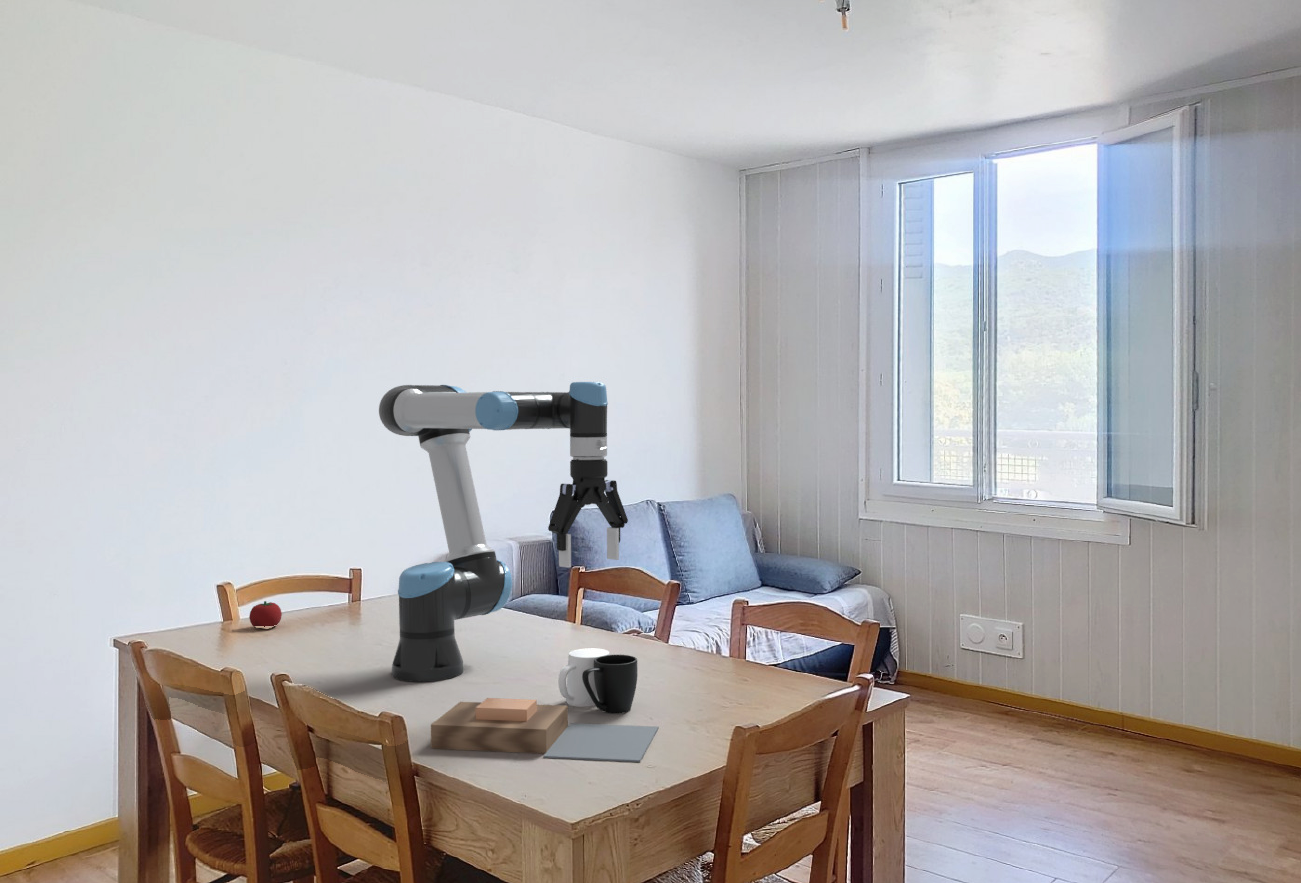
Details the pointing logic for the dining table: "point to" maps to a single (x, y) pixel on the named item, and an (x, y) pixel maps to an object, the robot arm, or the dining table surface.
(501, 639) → the dining table surface
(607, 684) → the mug
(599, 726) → the mat
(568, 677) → the mug
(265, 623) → the tomato
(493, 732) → the block
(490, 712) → the tile
